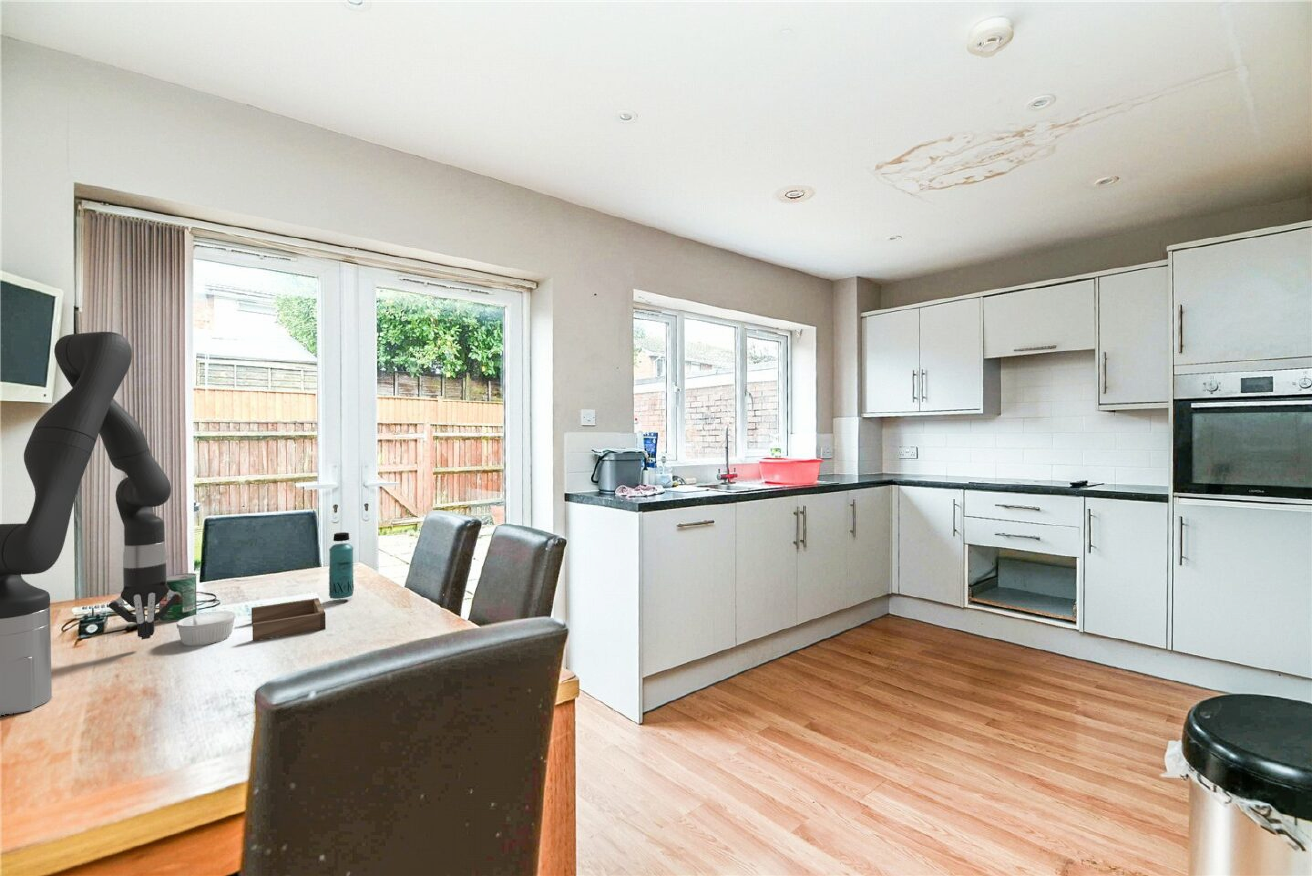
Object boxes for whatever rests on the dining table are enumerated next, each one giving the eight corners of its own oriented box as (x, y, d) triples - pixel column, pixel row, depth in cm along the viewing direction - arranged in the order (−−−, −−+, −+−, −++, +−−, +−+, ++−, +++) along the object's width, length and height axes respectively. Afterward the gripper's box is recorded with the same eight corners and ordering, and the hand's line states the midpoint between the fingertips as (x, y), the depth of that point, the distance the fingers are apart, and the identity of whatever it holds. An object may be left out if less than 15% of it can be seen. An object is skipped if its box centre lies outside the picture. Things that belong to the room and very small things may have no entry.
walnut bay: (325, 629, 150) (325, 613, 150) (252, 641, 142) (252, 624, 142) (318, 612, 164) (318, 598, 164) (251, 623, 155) (251, 607, 155)
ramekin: (165, 645, 139) (164, 623, 139) (212, 630, 150) (212, 609, 150) (200, 650, 136) (199, 627, 136) (246, 634, 147) (246, 613, 147)
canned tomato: (152, 623, 155) (152, 581, 155) (168, 614, 162) (167, 574, 162) (188, 620, 157) (187, 579, 157) (202, 612, 164) (201, 572, 164)
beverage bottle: (323, 602, 173) (323, 533, 173) (345, 596, 179) (344, 530, 179) (338, 605, 170) (337, 535, 170) (359, 599, 176) (358, 532, 176)
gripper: (103, 570, 130) (104, 649, 130) (180, 562, 137) (181, 637, 138) (109, 563, 136) (110, 639, 136) (183, 556, 143) (184, 628, 144)
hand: (146, 638), depth 137 cm, fingers closed
